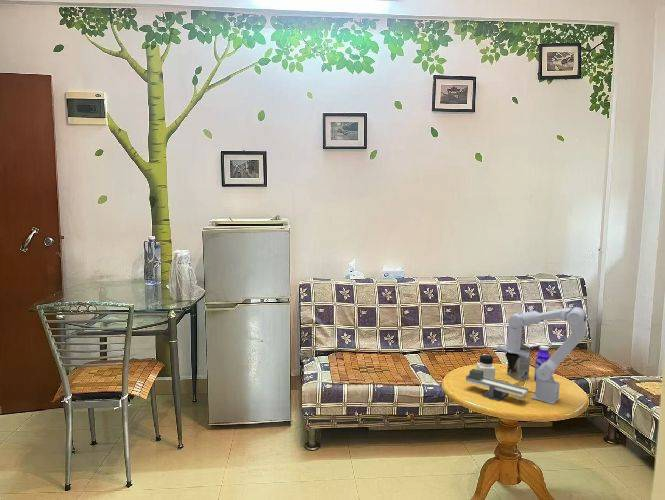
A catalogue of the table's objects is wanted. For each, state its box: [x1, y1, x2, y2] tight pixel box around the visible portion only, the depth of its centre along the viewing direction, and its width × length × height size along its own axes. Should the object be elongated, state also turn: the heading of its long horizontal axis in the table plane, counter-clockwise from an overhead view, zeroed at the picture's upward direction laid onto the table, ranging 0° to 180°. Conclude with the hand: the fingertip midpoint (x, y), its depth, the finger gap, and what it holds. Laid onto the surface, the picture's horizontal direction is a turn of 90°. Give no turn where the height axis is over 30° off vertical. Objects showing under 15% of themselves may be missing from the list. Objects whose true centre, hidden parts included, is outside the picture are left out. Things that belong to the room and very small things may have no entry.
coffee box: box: [506, 342, 532, 381], centre depth 260 cm, size 9×6×16 cm
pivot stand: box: [481, 380, 510, 402], centre depth 237 cm, size 8×10×6 cm
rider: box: [468, 368, 483, 381], centre depth 243 cm, size 5×4×4 cm
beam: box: [465, 373, 529, 401], centre depth 237 cm, size 26×7×5 cm, turn 49°
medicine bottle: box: [476, 353, 496, 380], centre depth 256 cm, size 7×7×12 cm
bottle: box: [533, 345, 551, 381], centre depth 254 cm, size 7×6×17 cm
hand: (511, 368), depth 242 cm, fingers closed
